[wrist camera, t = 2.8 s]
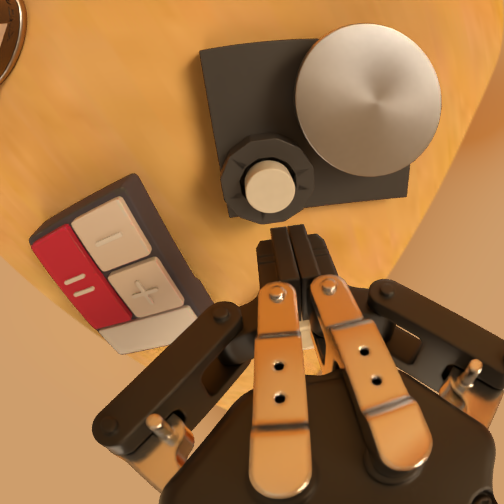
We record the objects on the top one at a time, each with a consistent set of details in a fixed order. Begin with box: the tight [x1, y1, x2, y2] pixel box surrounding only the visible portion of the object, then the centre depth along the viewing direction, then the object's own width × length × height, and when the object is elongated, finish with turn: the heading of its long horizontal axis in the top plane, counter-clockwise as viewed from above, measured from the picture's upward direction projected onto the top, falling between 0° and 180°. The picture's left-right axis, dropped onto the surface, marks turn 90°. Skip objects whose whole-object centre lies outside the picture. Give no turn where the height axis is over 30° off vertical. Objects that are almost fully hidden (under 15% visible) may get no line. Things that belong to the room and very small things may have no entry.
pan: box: [294, 23, 441, 177], centre depth 16 cm, size 10×10×1 cm
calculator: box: [29, 174, 214, 355], centre depth 25 cm, size 11×4×15 cm
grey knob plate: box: [199, 39, 410, 224], centre depth 18 cm, size 14×12×3 cm
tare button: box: [245, 160, 295, 213], centre depth 19 cm, size 3×3×2 cm
